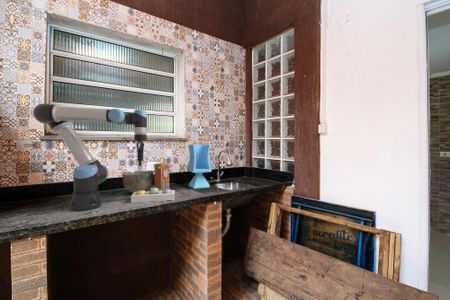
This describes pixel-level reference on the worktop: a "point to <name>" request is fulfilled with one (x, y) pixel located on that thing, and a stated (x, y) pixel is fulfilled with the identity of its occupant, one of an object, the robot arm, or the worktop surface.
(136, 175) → the bowl
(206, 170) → the planter
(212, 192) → the worktop surface
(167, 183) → the cracker box
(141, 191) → the button mustard
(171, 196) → the console
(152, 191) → the button sage
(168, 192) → the button blue
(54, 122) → the robot arm
